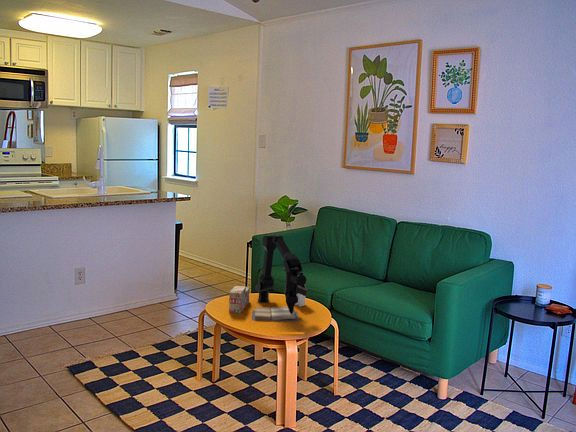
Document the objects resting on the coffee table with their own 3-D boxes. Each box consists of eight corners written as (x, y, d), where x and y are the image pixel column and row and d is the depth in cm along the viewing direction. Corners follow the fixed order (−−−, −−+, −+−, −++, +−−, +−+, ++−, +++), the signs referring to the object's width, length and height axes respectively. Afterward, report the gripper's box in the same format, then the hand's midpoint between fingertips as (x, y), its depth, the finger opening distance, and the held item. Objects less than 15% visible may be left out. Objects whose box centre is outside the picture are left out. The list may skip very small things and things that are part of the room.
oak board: (255, 310, 292) (255, 307, 291) (270, 311, 292) (270, 307, 292) (254, 319, 278) (254, 316, 277) (270, 320, 278) (270, 316, 278)
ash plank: (271, 311, 292) (271, 307, 292) (293, 309, 292) (293, 306, 292) (271, 320, 278) (271, 316, 278) (295, 318, 279) (295, 314, 278)
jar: (288, 302, 312) (289, 281, 310) (302, 301, 314) (303, 281, 312) (292, 307, 303) (292, 286, 302) (306, 306, 305) (307, 285, 304)
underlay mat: (252, 312, 293) (252, 310, 293) (297, 313, 294) (297, 311, 294) (251, 322, 277) (251, 320, 277) (299, 323, 278) (299, 321, 278)
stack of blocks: (238, 302, 309) (238, 281, 307) (249, 303, 308) (249, 282, 306) (228, 314, 288) (229, 291, 286) (240, 315, 287) (241, 292, 285)
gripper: (308, 286, 274) (307, 316, 276) (305, 276, 292) (304, 305, 295) (286, 286, 273) (285, 316, 276) (284, 276, 292) (284, 305, 294)
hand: (290, 310), depth 285 cm, fingers open, 9 cm apart
